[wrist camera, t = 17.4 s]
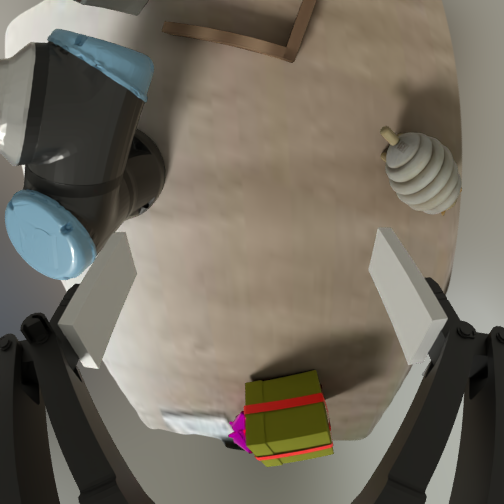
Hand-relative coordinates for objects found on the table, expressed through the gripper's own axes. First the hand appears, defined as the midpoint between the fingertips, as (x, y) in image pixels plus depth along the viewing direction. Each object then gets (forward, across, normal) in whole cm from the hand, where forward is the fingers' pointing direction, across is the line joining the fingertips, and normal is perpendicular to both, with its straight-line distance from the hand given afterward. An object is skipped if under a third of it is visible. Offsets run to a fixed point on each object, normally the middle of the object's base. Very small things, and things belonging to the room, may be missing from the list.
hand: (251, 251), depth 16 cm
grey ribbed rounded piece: (+30, +24, -3) cm, 38 cm away
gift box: (+29, +6, -65) cm, 71 cm away
